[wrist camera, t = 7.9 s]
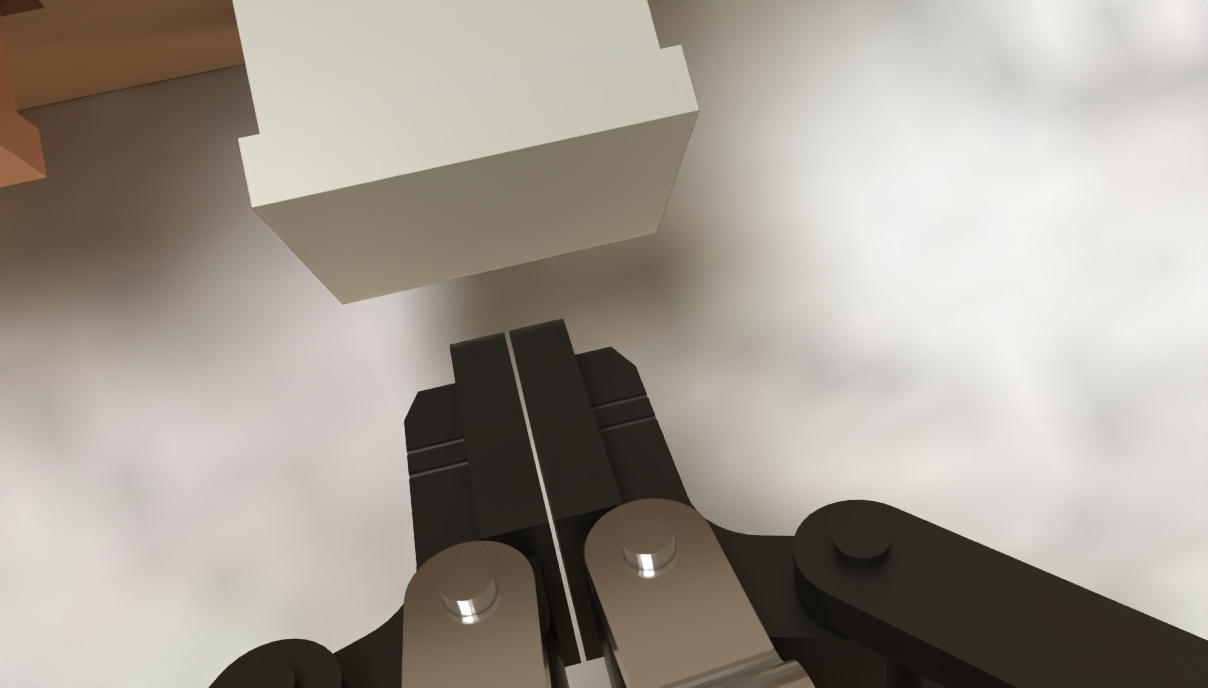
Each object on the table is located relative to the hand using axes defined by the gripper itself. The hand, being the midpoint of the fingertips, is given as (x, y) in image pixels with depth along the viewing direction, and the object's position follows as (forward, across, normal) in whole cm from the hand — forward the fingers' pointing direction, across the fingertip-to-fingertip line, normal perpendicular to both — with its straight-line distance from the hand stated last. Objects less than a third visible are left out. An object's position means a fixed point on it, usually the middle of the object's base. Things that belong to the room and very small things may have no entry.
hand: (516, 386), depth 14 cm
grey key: (+6, 0, -2) cm, 6 cm away
